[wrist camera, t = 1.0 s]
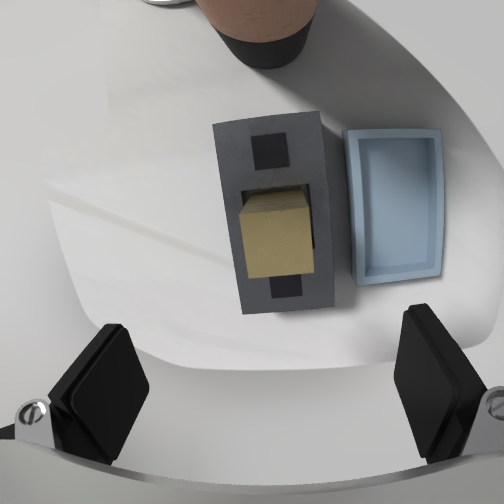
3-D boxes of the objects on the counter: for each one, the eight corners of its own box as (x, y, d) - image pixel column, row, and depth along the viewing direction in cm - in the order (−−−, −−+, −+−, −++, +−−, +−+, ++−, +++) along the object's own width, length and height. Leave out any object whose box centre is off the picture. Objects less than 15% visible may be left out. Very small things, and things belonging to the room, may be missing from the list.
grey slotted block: (224, 127, 26) (212, 124, 22) (312, 117, 25) (319, 110, 21) (248, 289, 32) (242, 315, 27) (327, 282, 30) (334, 307, 26)
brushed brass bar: (253, 191, 26) (238, 214, 18) (299, 186, 26) (308, 207, 17) (259, 236, 27) (248, 278, 19) (304, 231, 27) (314, 272, 19)
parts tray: (341, 131, 26) (347, 129, 23) (428, 129, 24) (440, 129, 22) (351, 275, 30) (356, 285, 28) (430, 265, 29) (440, 274, 26)
